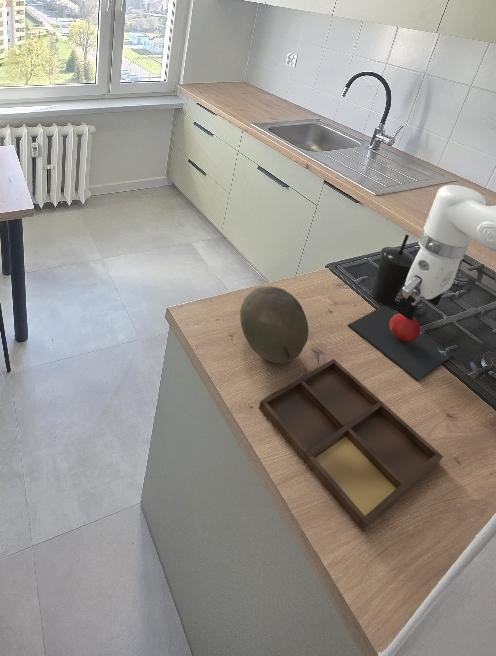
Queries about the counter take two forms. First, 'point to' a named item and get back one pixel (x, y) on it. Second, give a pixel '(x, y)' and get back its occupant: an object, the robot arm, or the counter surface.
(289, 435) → the tray
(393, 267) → the drinking cup
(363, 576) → the counter surface
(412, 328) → the onion
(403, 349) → the mat
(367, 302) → the counter surface
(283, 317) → the grey-brown oval ball
